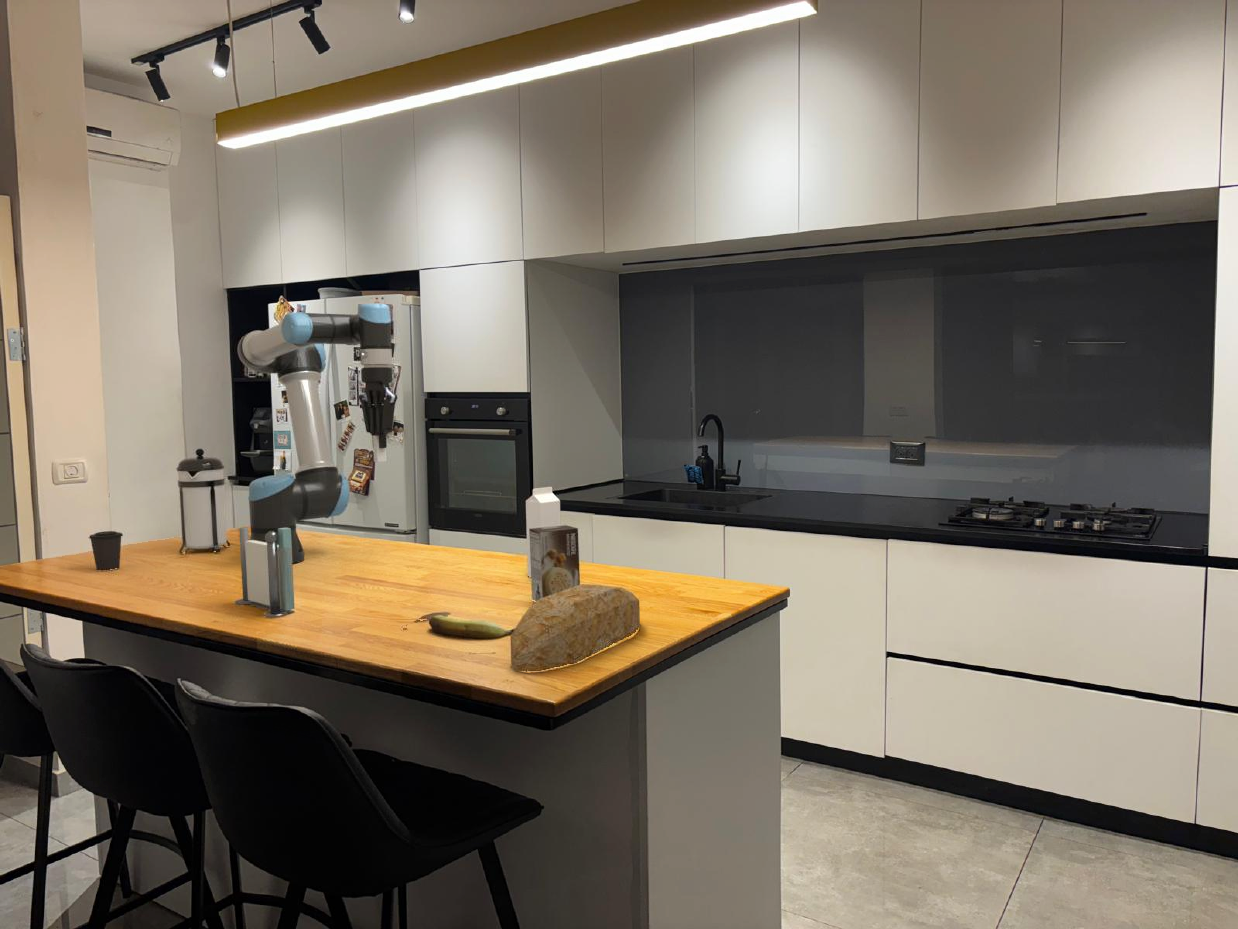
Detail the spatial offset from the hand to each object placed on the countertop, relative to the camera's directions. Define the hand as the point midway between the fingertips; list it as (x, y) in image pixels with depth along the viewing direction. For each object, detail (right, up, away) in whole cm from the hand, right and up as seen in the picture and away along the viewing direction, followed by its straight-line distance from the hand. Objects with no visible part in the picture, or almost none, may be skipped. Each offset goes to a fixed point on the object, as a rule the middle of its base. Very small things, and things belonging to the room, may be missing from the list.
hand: (380, 461), depth 238 cm
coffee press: (-62, -26, +42) cm, 79 cm away
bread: (+53, -34, -67) cm, 92 cm away
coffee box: (+46, -31, -32) cm, 64 cm away
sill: (-17, -32, -33) cm, 48 cm away
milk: (+42, -29, -6) cm, 51 cm away
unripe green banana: (+31, -34, -57) cm, 73 cm away
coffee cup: (-76, -29, +14) cm, 82 cm away
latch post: (-12, -32, -40) cm, 53 cm away
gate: (-16, -31, -33) cm, 48 cm away
